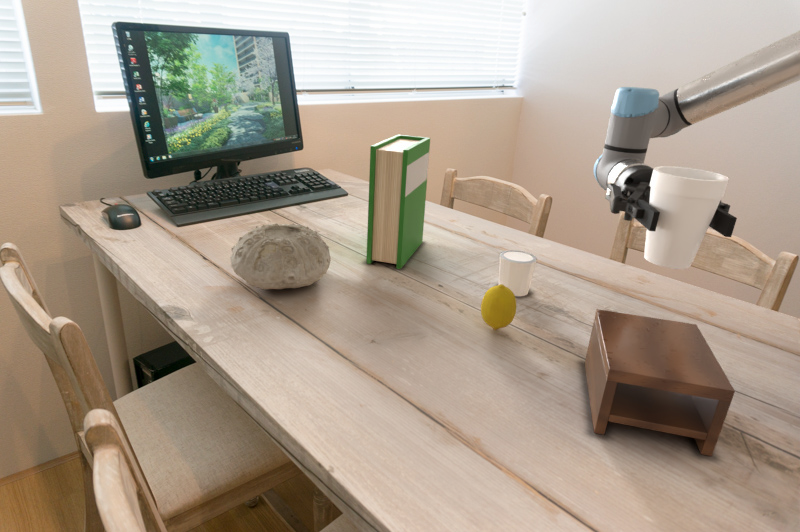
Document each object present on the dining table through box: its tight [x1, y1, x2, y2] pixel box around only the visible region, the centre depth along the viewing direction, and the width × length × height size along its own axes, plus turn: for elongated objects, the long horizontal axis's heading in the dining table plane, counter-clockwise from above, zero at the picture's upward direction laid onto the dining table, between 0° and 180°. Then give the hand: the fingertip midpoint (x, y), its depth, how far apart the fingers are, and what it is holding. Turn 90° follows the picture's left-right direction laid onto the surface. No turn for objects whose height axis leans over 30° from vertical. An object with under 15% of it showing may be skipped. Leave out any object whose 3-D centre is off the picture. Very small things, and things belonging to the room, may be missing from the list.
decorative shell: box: [229, 223, 332, 291], centre depth 97 cm, size 18×18×10 cm
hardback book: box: [365, 134, 431, 270], centre depth 112 cm, size 18×7×24 cm, turn 163°
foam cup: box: [643, 165, 730, 270], centre depth 75 cm, size 10×9×13 cm
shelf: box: [584, 308, 736, 457], centre depth 68 cm, size 13×16×9 cm
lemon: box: [480, 284, 517, 331], centre depth 84 cm, size 6×6×8 cm
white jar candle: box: [497, 249, 538, 297], centre depth 100 cm, size 7×7×7 cm
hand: (692, 224), depth 71 cm, fingers closed on foam cup, 9 cm apart
